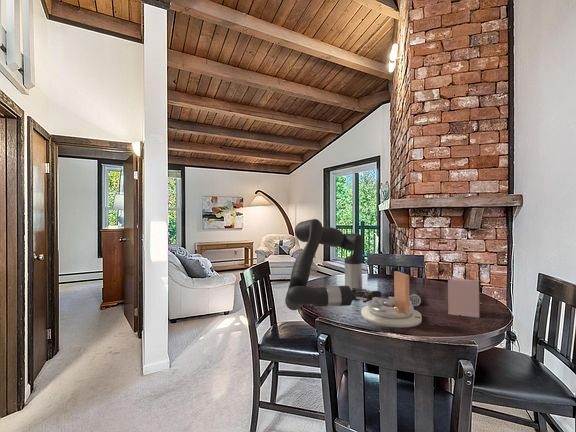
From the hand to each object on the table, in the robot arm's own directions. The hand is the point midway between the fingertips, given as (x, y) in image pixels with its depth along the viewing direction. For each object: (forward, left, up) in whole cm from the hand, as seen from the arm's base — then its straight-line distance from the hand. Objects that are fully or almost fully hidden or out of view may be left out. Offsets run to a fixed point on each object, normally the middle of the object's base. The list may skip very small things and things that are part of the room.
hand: (380, 293), depth 116 cm
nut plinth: (-12, -1, -12) cm, 17 cm away
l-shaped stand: (-10, +1, -10) cm, 15 cm away
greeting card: (-34, +21, -13) cm, 42 cm away
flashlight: (-42, -1, -13) cm, 44 cm away
